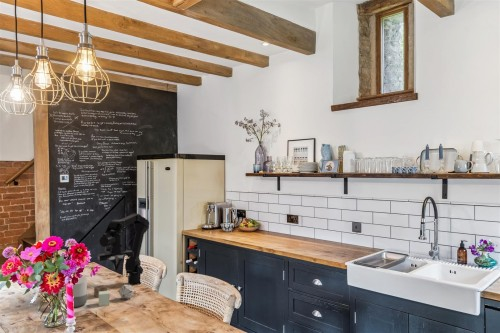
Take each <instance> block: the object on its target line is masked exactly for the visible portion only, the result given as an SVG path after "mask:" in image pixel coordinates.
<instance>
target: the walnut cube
mask: <svg viewBox="0 0 500 333" xmlns="http://www.w3.org/2000/svg"><path fill="white" fill-rule="evenodd" d="M100 291H108V286H106V285H104V284H100V285H96V286H94V287H93V297H96V298H97V299H99V292H100Z"/></svg>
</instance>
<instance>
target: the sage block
mask: <svg viewBox="0 0 500 333" xmlns="http://www.w3.org/2000/svg"><path fill="white" fill-rule="evenodd" d="M104 306H106V307H107V306H110V290H107V291H100V292H99V298H98V307H104Z"/></svg>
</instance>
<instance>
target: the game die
mask: <svg viewBox="0 0 500 333" xmlns="http://www.w3.org/2000/svg"><path fill="white" fill-rule="evenodd" d="M118 292H119V295H120V300H122V299H128V300H129V301H131V298H132V296H133V294H135V290H134V288H133V285H132V284H131V285H130V284H125V283H122V286H121V288H119V290H118Z"/></svg>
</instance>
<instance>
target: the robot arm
mask: <svg viewBox="0 0 500 333" xmlns="http://www.w3.org/2000/svg"><path fill="white" fill-rule="evenodd" d="M131 224H133V226H134V227H133V228H134V232H135V235H134V239H133V244H132V248H131V250H124V252H122V247H123V246H122V245H123V244H122V235H124V231H123V230H124V229H126V226H129V225H131ZM149 227H150V222H149V220H148V219H147V218H145V217H144V216H142V215H141V214H140V213H132V214H130V215H128V216H125V217H123V218H121V219H114V220H113V219H112V220H110V222H109V223H108V225H107V227H106V230H105V232H104V233H103V234H102V236H101V237H100V238H99V245H100V246H101V247H103V248H104V251H105V253H104V252H103V253H98V254H97V260H98V261H99V262H103V261H107V260H109V261H110V262H111V263H112V266H113V268H114V271H116V272H117V271H118V269H119V267H120V264H121V263H122V261H123V260H125V258H124V257H126V256H127V258H126V260H125V264H124V269H125V273H126V274H128V276H127V283H128V285H131V284H132V286H134V285H135V286H136V285H140V284H142V282H141V275H142V274H143V273H144V268H143V267H142V266H141V259H140V254H141V250H142V249H141V248H142V245H143V241H144V236H145V233H146V232H147V231H148V229H149ZM107 253H108V254H107Z"/></svg>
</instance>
